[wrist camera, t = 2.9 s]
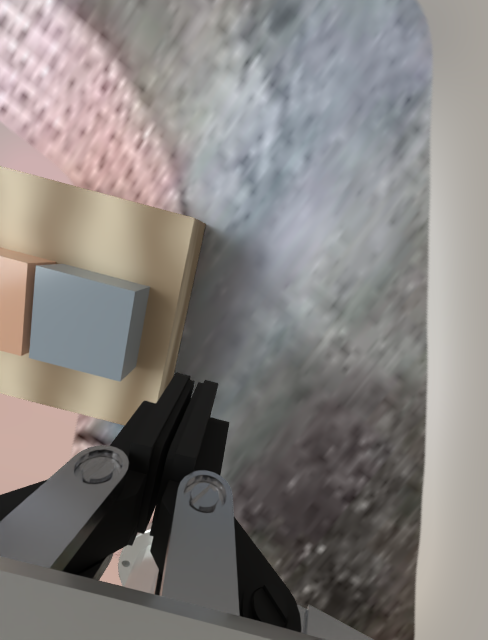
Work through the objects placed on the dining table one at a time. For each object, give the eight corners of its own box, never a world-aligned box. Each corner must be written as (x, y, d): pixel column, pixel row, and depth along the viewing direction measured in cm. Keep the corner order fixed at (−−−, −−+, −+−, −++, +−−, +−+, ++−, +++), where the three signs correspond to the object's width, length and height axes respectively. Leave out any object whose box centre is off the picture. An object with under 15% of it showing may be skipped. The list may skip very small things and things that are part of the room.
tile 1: (150, 286, 19) (134, 291, 17) (136, 366, 21) (120, 381, 18) (63, 263, 19) (35, 265, 17) (54, 345, 20) (28, 358, 18)
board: (205, 223, 22) (194, 218, 18) (167, 404, 26) (150, 432, 22) (1, 169, 22) (-55, 151, 18) (-7, 359, 25) (-54, 379, 22)
